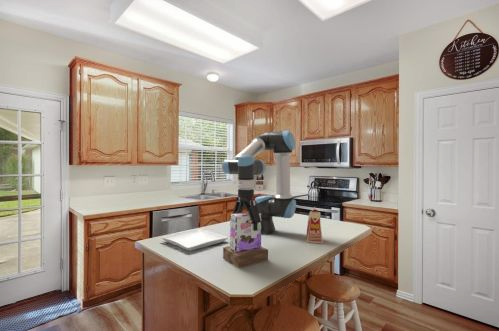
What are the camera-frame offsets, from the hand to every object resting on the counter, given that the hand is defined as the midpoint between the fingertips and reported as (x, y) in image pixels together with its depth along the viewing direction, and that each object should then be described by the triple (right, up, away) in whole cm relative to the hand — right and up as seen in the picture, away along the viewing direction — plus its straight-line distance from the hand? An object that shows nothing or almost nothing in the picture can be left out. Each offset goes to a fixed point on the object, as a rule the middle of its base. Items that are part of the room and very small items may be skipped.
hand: (245, 234), depth 124 cm
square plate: (-29, -12, +25) cm, 40 cm away
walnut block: (0, -12, 0) cm, 12 cm away
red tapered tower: (+40, -12, +30) cm, 51 cm away
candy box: (0, -7, 0) cm, 7 cm away
